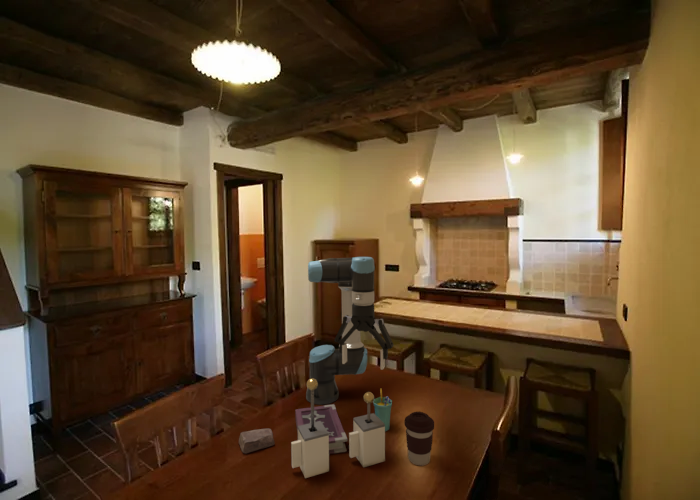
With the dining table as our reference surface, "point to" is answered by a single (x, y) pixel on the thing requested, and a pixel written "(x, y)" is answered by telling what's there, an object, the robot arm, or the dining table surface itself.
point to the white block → (367, 440)
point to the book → (325, 425)
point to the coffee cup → (419, 437)
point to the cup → (383, 409)
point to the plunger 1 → (312, 398)
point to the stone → (255, 440)
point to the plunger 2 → (368, 403)
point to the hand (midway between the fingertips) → (363, 365)
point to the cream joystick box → (311, 450)
